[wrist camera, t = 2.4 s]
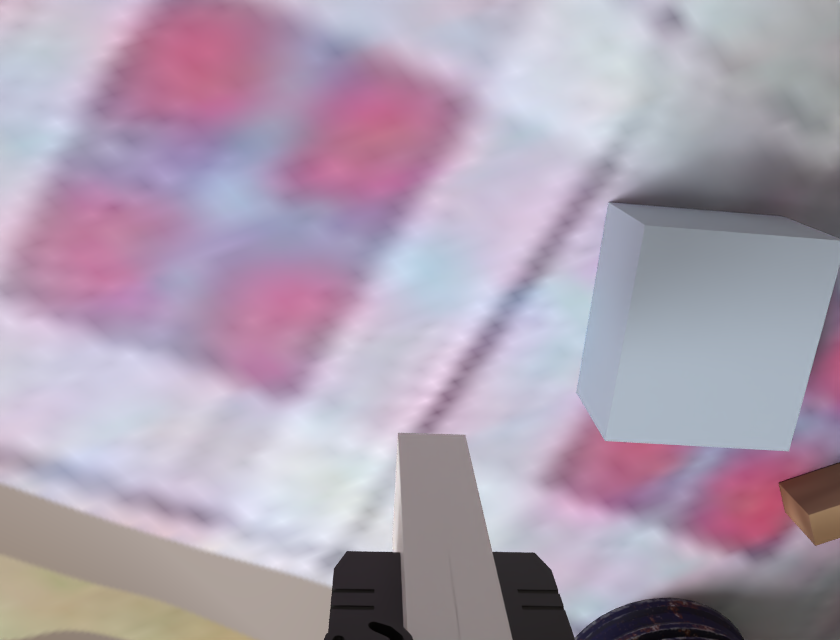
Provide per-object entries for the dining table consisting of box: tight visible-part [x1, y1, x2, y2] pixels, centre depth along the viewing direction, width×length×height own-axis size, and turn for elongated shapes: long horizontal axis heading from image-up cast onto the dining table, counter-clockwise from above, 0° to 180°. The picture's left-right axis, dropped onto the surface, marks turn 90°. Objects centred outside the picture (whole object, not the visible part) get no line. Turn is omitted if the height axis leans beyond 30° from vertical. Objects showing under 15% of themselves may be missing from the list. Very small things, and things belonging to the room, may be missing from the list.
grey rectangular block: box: [576, 202, 840, 451], centre depth 29 cm, size 8×7×4 cm
